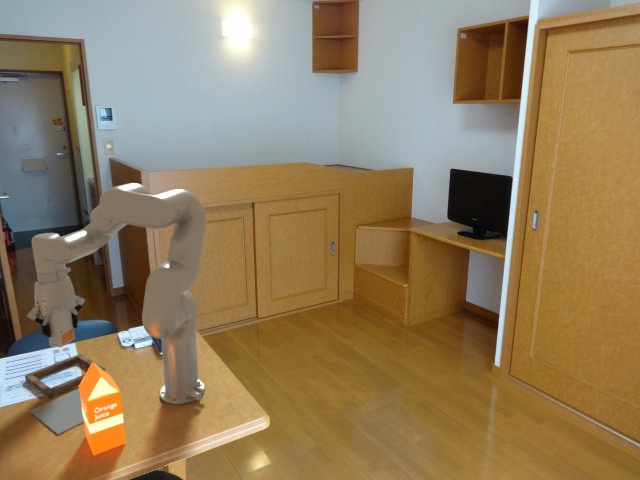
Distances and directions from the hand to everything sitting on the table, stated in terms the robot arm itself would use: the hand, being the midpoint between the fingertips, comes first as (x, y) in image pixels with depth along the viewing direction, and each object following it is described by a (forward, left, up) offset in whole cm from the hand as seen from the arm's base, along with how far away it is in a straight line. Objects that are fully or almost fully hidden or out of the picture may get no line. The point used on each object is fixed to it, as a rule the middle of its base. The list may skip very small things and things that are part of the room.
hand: (61, 331), depth 143 cm
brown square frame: (0, 0, -16) cm, 16 cm away
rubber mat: (-18, +7, -16) cm, 25 cm away
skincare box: (0, 0, -4) cm, 4 cm away
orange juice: (-37, +8, -16) cm, 41 cm away
